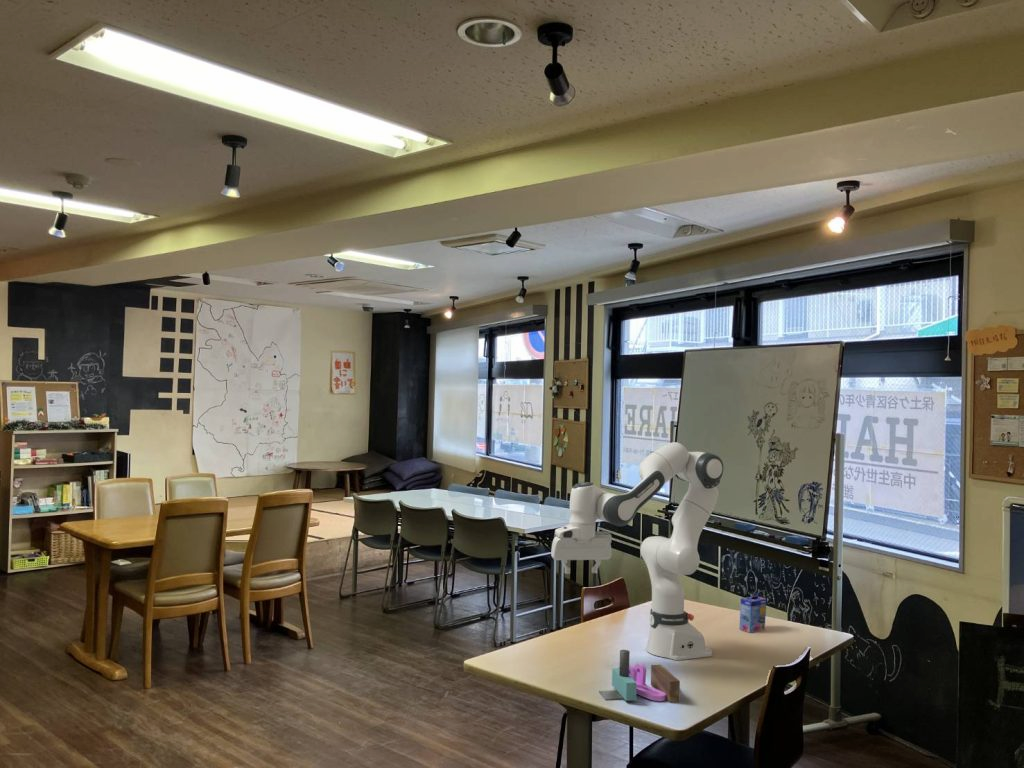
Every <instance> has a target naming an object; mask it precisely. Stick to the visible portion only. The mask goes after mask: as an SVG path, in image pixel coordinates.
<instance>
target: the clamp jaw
mask: <svg viewBox="0 0 1024 768" xmlns="http://www.w3.org/2000/svg"><path fill="white" fill-rule="evenodd" d="M629 666H630V650H628V649H621V650H619V667H618V668H616V667H615V668H614V667H612V669H611V686H612V688H614V690H617V691H618V692H619V693H620V695H621V696H622V697H623V698H624V699H623V700H625V701H626V702H627V701H629V702H630V701H637V694H636V682H635V681H634V680H633V679H632V678H631V677H630V676H629Z"/></svg>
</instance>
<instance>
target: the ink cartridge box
mask: <svg viewBox="0 0 1024 768" xmlns="http://www.w3.org/2000/svg"><path fill="white" fill-rule="evenodd" d="M759 595H760V592H757V593H756V592H755V593H753V594H752V596H748V597H747V596H746V597H742V598H740V606H739V607H740V609H739V630H741V631H743V632H746V633H749V634H751V633H756V632H760V631H764V630H765V629H766V614H767V598H764V597H762V596H759Z"/></svg>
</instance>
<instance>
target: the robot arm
mask: <svg viewBox="0 0 1024 768" xmlns="http://www.w3.org/2000/svg"><path fill="white" fill-rule="evenodd" d="M638 474H639V477H640V479H641V481H640V482H638V484H636V485H635V486H634V487H633V488H631V490H629V491H628V492H626V493H623V494H622V493H621V494H616V493H612V492H609V491H606V490H604V489H602V488H600V487H598V486H597V485H596V484H595V483H594V482H591V481H586V482H585V481H583V482H578V483H575V484H574V485H573V486H572V487H571V491H570V496H569V497H570V498H569V512H570V516H569V520H568V524H567V525H565V526H562V527H559V528H556V529H555V530H554V534H555V536H554V538H553V540H552V543H551V552H550V555H551V558H552V559H553V560H555V561H561V564H562V566H563V567H564V574H565V575H566V574H567V575H568V574H569V575H570V574H571V568H570V567H569V566H568V565H567V564H568V561H587V560H588V561H595V564H594V566H591V573H592V574H598V568H599V567H600V565H601V563H602V560H610V559H611V558H612V545H611V543H612V534H611V533H610V532H608V531H605V530H604V531H600V530H599V531H598V530H596V522H597V520H601V521H603V522H607V523H610V524H611V525H614V526H615V527H624V526H627V525H628V524H630V523H631V522H632V520H633V519H634V518H635V516H636V515H637V513H638V511H639V510H640V509H642V507H643V506H644V505H645V504H647V502H648V501H651V499H652V498H653V497H654V496H655V495H656V494H658V492H660V490H661V489H662V488H663V487H664V485H665V484H666V483H668V481H670V480H671V479H673V478H674V477H675V478H676V479H678V480H681V481H683V482H684V481H685V482H689V483H688V488H687V492H686V493H685V495H684V496H683V498H682V499H681V500H680V501H681V502H680V503H679V505H678V506H677V508H676V510H675V512H674V513H673V515H672V517H671V524H672V526H673V529H672V532H671V533H672V534H671V536H670V537H669V538H668V537H666V536H662V535H659V536H658V535H654V536H653V535H652V536H648V537H646V538H645V539H644V540H643V541H642V543H641V545H640V550H639V551H640V555H641V558H642V560H644V562H645V565H646V567H647V571H648V574H649V579H650V584H651V585H650V586H651V609H650V611H649V612H650V613H649V614H650V615H649V624H650V629H649V634H648V635H649V636H648V641H647V644H646V647H645V651H646V652H648V653H649V654H651V655H653V656H658V657H662V658H666V659H667V658H668V659H671V660H674V661H682V660H691V659H698V658H707V657H712V656H713V653H712V650H711V649H710V647H708V646H706V641H705V637H704V635H703V633H702V632H701V631H699V629H697V628H696V627H695V626H694V625H693V624H691V623H690V622H691V621H694V619H695V615H693V614H692V613H688V612H686V611H685V589H684V587H683V585H682V583H681V581H680V579H679V577H678V575H680V576H690V575H692V574H694V573H695V572H696V571H697V570H698V569H699V566H700V561H701V560H700V559H701V558H700V554H699V552H698V546H699V545H698V544H699V539H700V536H701V533H702V531H703V529H704V528H705V526H706V524H707V522H708V520H709V518H710V517H711V515H712V514H713V511H714V509H715V507H716V504H717V501H718V499H719V490H718V488H717V487H718V485H719V484H720V482H721V479H722V477H723V474H724V462H723V460H722V459H721V458H720V456H718V455H716V454H714V453H711V452H704V451H688V450H687V448H686V446H684V445H683V444H682V443H680V442H676V441H673V442H670V443H667V444H665V445H663V446H661V447H659V448H657V449H656V450H654V451H653V452H651V453H650V454H649V455H647V456H646V457H644V459H643V460H641V462H640V463H639V466H638ZM689 621H690V622H689Z"/></svg>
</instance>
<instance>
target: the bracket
mask: <svg viewBox="0 0 1024 768" xmlns="http://www.w3.org/2000/svg"><path fill="white" fill-rule="evenodd" d="M629 676H630V677H631V678H632V679H633V680H634V681H635V682H636V695H638V696H641V697H643V698H646V699H648V700H651V701H655V702H664V701H665V700H666V699H665V696H666V694H665V693H664V692H662V691H660V690H657V689H655V688H654V687H653V686H651V685H647V683H646V679H647V678H646V677H647V668H646V666H645V664H643V663H637V664H635V665H630V664H629Z"/></svg>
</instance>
